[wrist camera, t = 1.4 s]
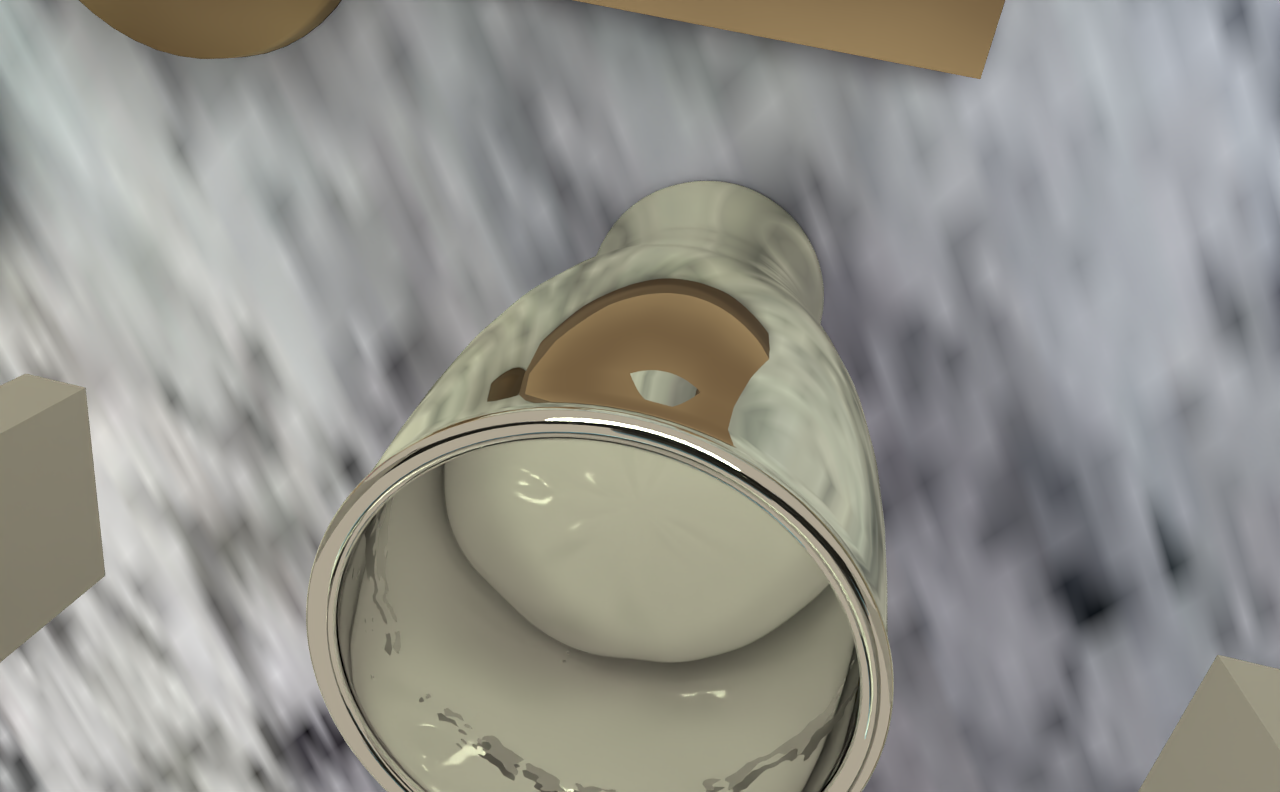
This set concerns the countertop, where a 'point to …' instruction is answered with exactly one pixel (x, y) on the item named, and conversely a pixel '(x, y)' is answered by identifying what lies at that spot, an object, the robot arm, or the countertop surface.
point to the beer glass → (624, 535)
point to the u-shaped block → (852, 26)
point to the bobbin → (213, 24)
